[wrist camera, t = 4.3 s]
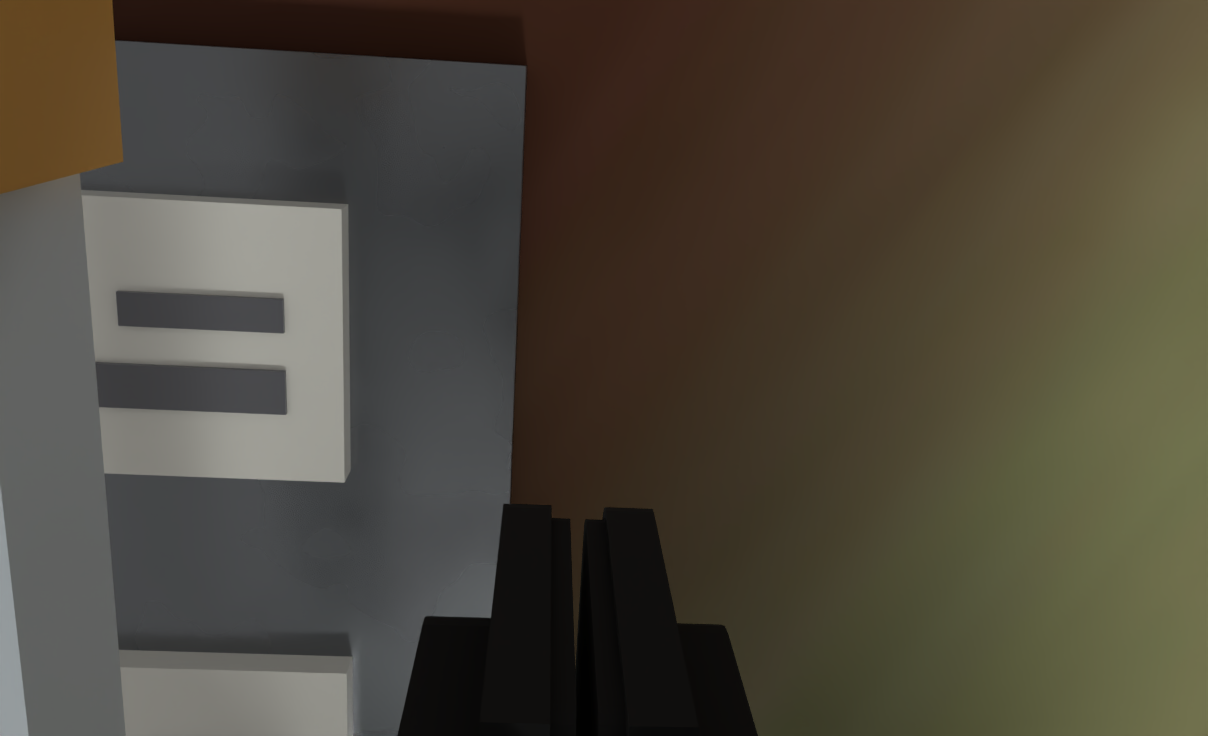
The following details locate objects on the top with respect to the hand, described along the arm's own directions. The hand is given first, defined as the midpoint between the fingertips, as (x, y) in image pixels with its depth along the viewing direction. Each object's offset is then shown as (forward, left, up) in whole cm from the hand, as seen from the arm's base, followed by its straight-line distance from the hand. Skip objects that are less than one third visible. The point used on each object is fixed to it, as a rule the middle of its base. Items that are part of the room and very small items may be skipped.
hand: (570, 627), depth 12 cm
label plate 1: (+7, -1, -9) cm, 11 cm away
